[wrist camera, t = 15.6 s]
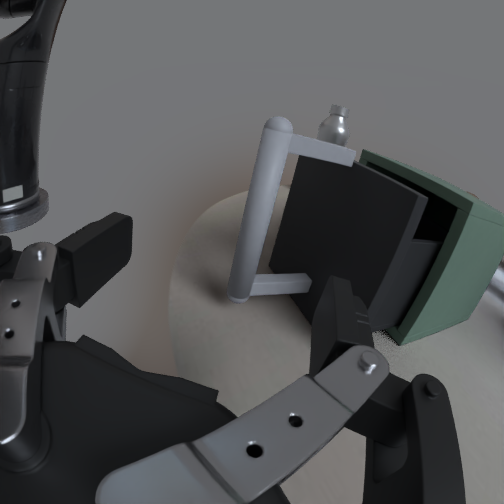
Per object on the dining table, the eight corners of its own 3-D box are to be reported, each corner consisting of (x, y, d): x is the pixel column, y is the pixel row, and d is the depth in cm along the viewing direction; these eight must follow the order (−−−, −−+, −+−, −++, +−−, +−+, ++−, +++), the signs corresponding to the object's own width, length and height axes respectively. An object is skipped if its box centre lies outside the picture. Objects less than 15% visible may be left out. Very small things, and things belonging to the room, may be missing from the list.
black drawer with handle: (253, 380, 18) (335, 132, 11) (203, 265, 28) (234, 106, 22) (438, 330, 26) (502, 205, 20) (368, 264, 37) (408, 157, 30)
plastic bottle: (316, 192, 65) (340, 108, 56) (335, 204, 60) (362, 114, 51) (294, 190, 62) (318, 100, 53) (312, 202, 57) (340, 105, 48)
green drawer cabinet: (399, 346, 23) (473, 202, 17) (323, 263, 34) (362, 148, 28) (467, 319, 30) (517, 222, 23) (403, 262, 41) (438, 177, 34)
